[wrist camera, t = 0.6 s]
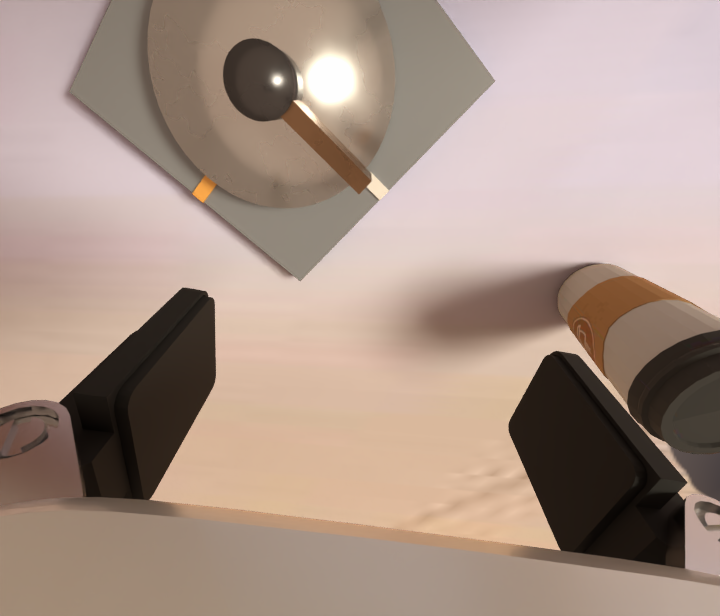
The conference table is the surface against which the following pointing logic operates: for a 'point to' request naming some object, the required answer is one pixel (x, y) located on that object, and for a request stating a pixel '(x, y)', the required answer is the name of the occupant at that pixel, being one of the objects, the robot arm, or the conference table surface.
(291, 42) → the dial
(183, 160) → the dial plate
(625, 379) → the coffee cup
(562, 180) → the conference table surface
